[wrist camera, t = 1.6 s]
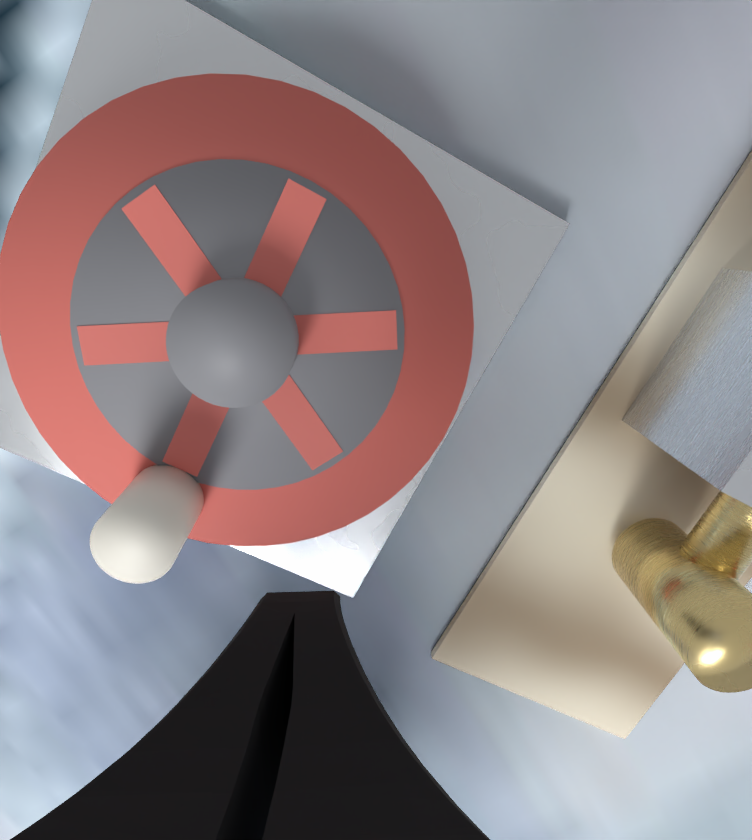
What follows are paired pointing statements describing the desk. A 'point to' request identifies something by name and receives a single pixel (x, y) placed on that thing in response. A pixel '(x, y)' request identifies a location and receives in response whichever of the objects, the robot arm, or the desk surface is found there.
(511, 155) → the desk surface
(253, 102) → the handwheel
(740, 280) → the block
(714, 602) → the hook rod
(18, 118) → the desk surface
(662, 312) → the birch base board
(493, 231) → the wheel plate
